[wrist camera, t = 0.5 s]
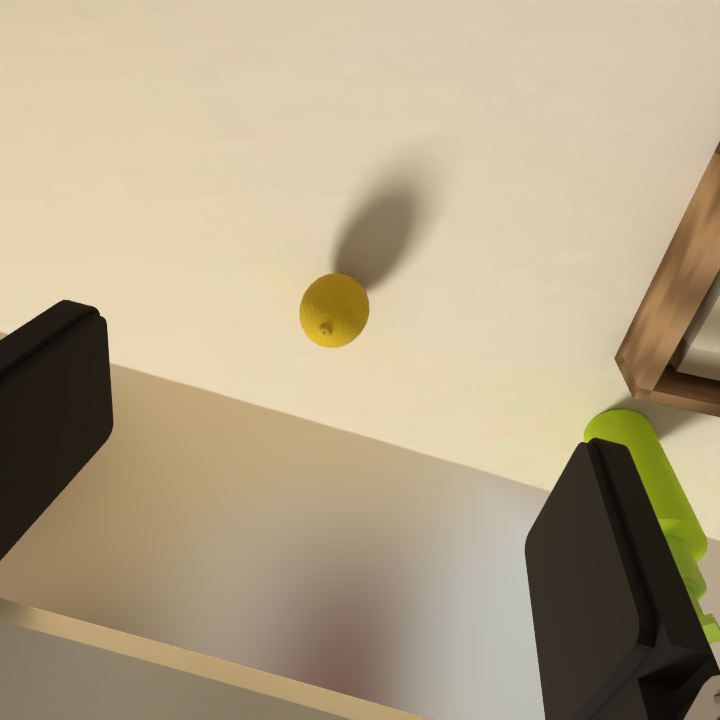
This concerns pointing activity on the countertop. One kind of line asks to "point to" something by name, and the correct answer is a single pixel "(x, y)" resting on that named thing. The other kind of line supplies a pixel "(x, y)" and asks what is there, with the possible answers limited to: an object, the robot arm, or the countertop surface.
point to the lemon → (334, 310)
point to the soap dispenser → (662, 499)
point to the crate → (682, 313)
